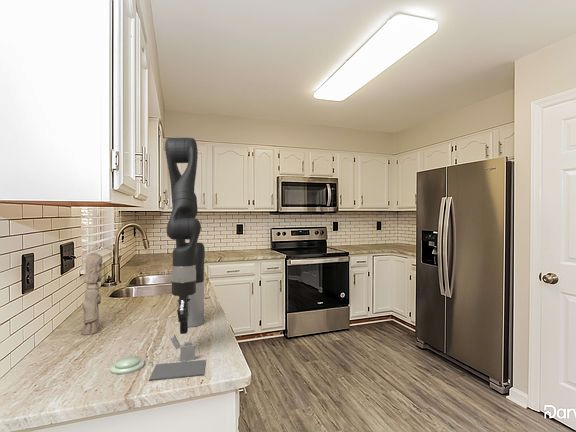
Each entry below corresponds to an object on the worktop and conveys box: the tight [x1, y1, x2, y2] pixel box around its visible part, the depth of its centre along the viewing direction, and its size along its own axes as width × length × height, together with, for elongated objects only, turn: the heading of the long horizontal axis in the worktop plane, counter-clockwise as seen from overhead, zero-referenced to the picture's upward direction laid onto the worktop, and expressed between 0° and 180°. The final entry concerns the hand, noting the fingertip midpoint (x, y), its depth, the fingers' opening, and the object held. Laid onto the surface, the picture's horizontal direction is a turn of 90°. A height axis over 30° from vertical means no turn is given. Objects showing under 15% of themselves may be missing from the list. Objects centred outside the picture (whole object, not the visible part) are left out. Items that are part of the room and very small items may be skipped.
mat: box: [148, 359, 206, 382], centre depth 90 cm, size 9×14×1 cm, turn 102°
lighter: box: [169, 333, 196, 362], centre depth 96 cm, size 7×2×8 cm, turn 108°
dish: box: [109, 355, 145, 375], centre depth 92 cm, size 9×9×2 cm
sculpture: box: [80, 252, 103, 336], centre depth 122 cm, size 7×7×30 cm
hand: (183, 333), depth 103 cm, fingers closed
